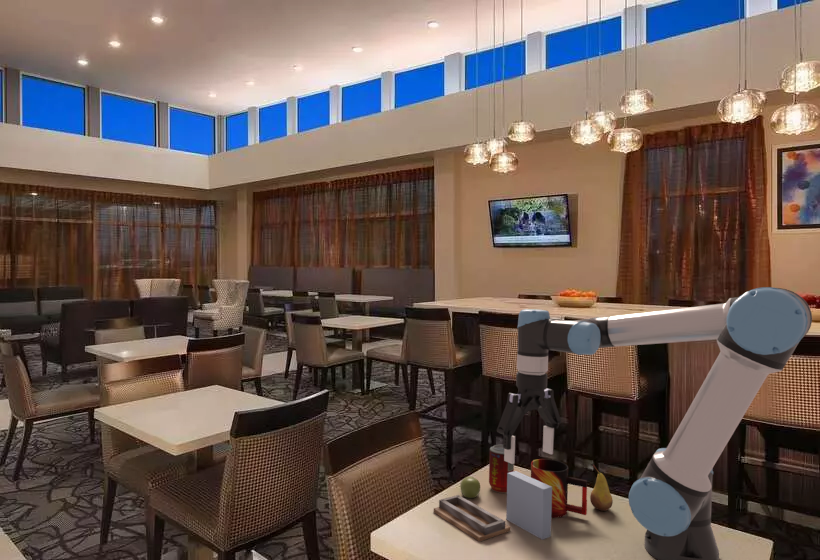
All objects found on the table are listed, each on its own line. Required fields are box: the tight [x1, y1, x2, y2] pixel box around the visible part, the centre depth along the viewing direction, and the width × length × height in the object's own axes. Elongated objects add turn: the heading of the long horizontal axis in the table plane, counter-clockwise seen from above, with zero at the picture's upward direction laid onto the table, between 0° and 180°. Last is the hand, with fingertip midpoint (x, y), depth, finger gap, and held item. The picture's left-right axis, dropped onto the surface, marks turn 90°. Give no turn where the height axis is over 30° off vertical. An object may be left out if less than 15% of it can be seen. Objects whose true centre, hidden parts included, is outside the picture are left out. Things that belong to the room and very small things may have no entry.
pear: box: [460, 475, 481, 499], centre depth 152 cm, size 6×5×10 cm
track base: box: [433, 494, 511, 542], centre depth 135 cm, size 18×10×3 cm, turn 34°
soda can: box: [488, 444, 515, 494], centre depth 155 cm, size 7×7×12 cm
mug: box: [530, 458, 588, 519], centre depth 142 cm, size 10×14×12 cm
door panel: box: [505, 470, 552, 540], centre depth 132 cm, size 12×3×12 cm, turn 34°
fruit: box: [589, 463, 614, 512], centre depth 143 cm, size 6×6×12 cm
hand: (529, 457), depth 132 cm, fingers open, 13 cm apart
